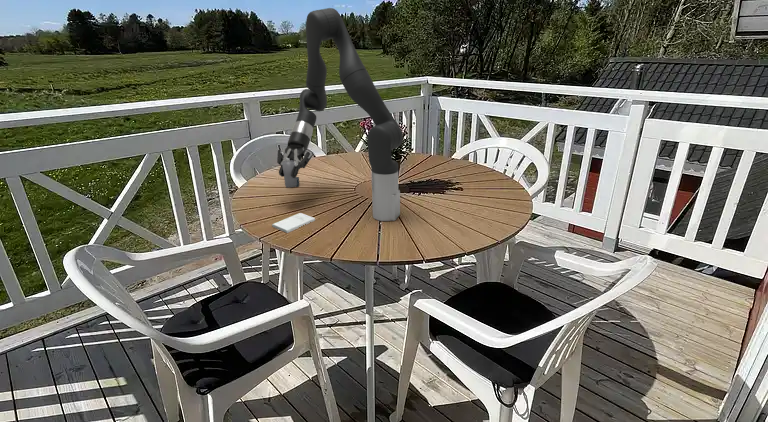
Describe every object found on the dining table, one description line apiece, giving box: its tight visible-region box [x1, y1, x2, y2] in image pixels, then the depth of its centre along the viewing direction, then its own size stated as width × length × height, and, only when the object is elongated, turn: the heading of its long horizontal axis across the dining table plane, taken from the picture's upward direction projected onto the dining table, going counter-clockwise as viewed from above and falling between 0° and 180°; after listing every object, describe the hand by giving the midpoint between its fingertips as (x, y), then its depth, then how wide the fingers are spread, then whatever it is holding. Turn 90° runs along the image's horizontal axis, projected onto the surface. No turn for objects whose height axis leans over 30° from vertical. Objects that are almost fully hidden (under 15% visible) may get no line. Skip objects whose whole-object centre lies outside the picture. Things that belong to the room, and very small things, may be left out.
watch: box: [285, 176, 300, 189], centre depth 171 cm, size 6×8×11 cm
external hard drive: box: [271, 212, 316, 234], centre depth 137 cm, size 2×8×12 cm
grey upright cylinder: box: [282, 158, 297, 188], centre depth 144 cm, size 4×4×10 cm
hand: (287, 176), depth 143 cm, fingers closed on grey upright cylinder, 4 cm apart
